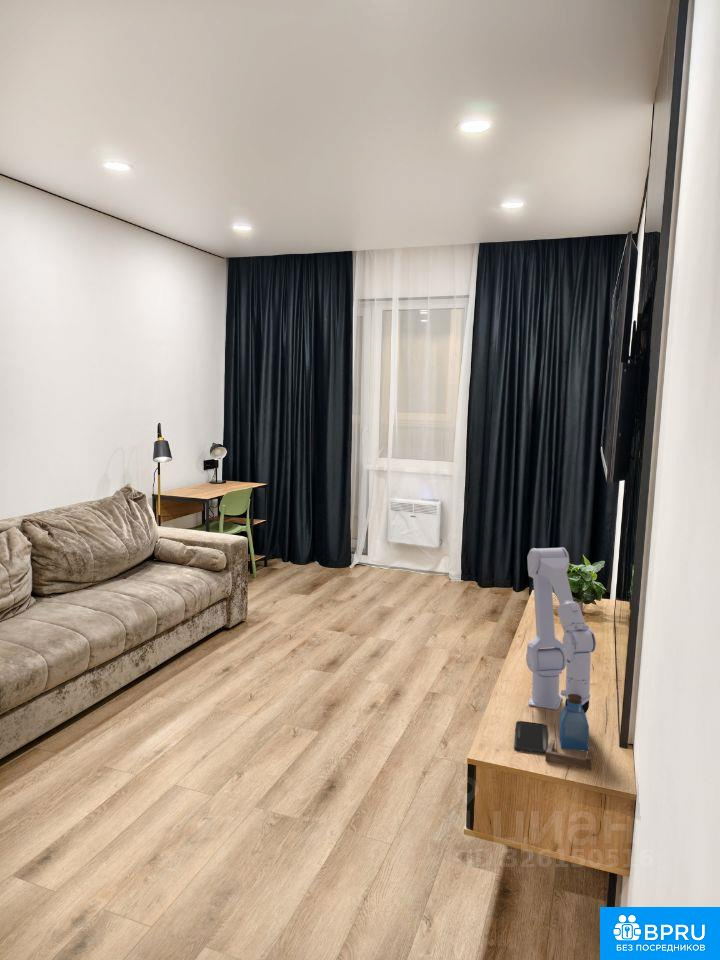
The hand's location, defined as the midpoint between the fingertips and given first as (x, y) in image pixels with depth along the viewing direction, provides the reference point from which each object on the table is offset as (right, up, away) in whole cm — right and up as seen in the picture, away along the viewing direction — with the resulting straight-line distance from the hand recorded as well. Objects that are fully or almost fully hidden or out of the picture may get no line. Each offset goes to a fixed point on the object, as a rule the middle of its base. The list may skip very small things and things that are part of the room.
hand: (576, 728), depth 165 cm
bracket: (-6, -2, -12) cm, 13 cm away
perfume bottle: (-3, -2, -6) cm, 6 cm away
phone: (-12, -2, -3) cm, 13 cm away
